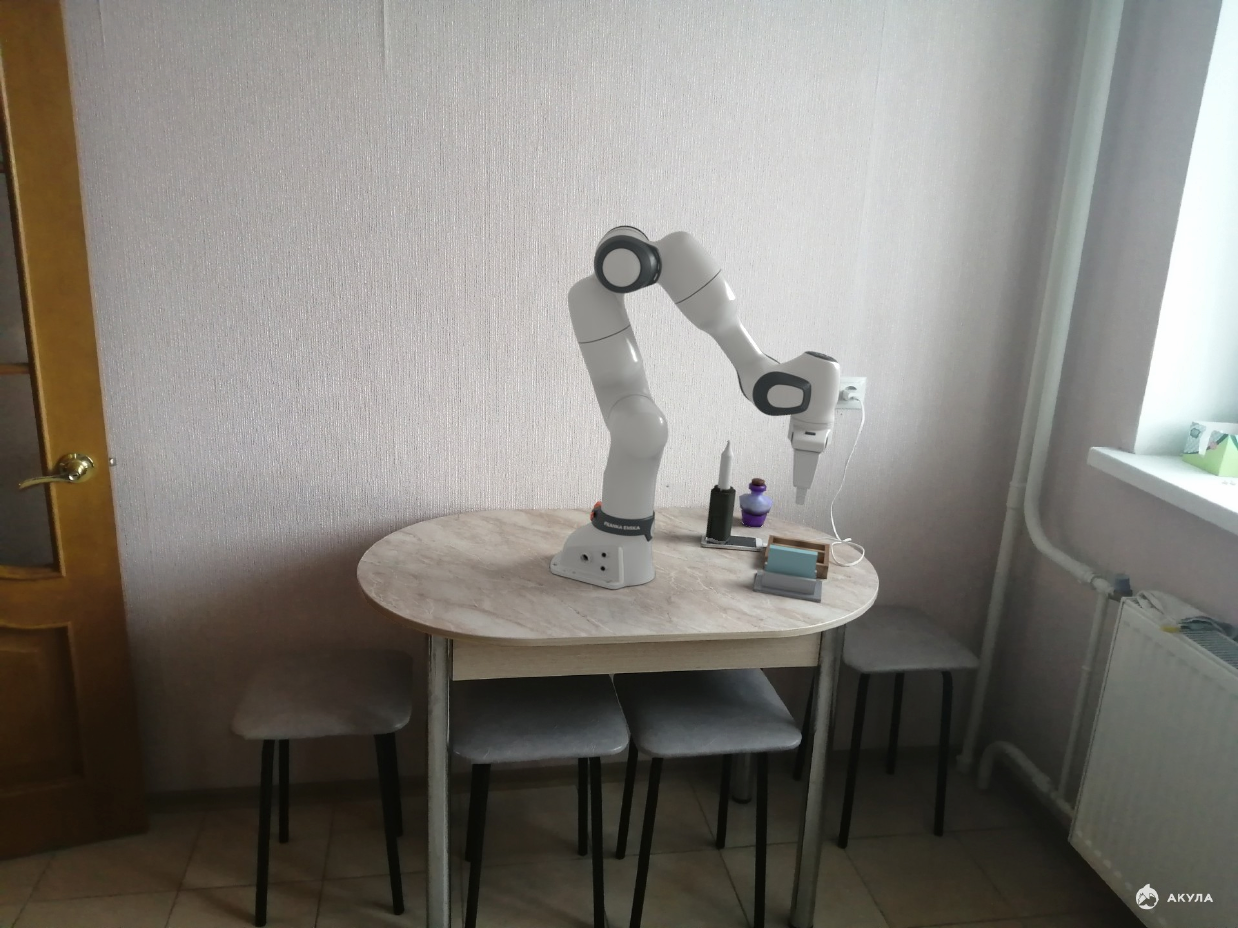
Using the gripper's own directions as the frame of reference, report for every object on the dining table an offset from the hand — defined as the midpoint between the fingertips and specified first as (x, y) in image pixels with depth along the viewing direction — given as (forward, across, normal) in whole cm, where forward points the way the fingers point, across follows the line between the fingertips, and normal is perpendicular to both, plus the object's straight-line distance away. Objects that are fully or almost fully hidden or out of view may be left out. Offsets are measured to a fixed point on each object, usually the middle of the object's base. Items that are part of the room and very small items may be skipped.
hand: (800, 496), depth 184 cm
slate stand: (+20, 0, 0) cm, 21 cm away
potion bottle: (+21, -36, -11) cm, 43 cm away
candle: (+21, -21, -18) cm, 35 cm away
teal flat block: (+20, 0, 0) cm, 20 cm away
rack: (+20, -15, +1) cm, 25 cm away
